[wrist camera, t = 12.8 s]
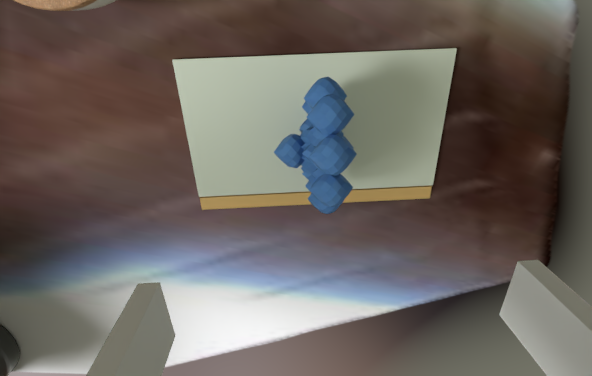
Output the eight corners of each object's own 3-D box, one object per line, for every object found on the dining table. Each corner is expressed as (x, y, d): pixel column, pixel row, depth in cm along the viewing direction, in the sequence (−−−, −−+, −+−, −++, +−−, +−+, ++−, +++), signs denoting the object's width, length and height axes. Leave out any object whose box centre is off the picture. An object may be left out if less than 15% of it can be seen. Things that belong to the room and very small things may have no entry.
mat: (199, 194, 35) (198, 196, 35) (174, 59, 29) (172, 59, 28) (431, 183, 36) (432, 185, 35) (454, 48, 29) (456, 48, 29)
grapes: (270, 70, 29) (263, 92, 18) (343, 66, 29) (378, 86, 19) (279, 183, 34) (277, 252, 24) (340, 180, 34) (367, 247, 24)
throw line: (202, 208, 36) (201, 209, 36) (200, 196, 35) (199, 198, 35) (428, 197, 36) (429, 198, 36) (430, 185, 36) (431, 186, 35)
